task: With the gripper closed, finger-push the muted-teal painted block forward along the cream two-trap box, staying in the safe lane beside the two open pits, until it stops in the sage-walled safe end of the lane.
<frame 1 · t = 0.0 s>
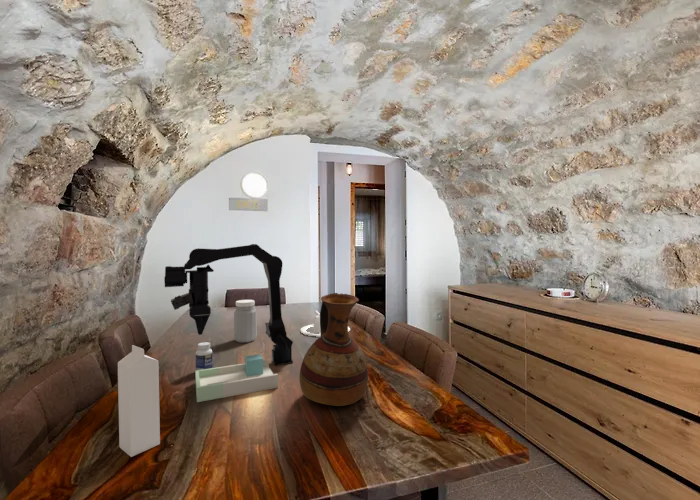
hand: (199, 331, 119), 15 cm above the table, fingers open, 9 cm apart
jar: (245, 340, 161), on the table
pill bottle: (204, 372, 122), on the table
trap box: (238, 385, 110), on the table
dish: (325, 331, 177), on the table
milk: (139, 446, 78), on the table
ceramic pitcher: (333, 397, 102), on the table
block: (253, 372, 115), point 2 cm above the table, touching trap box
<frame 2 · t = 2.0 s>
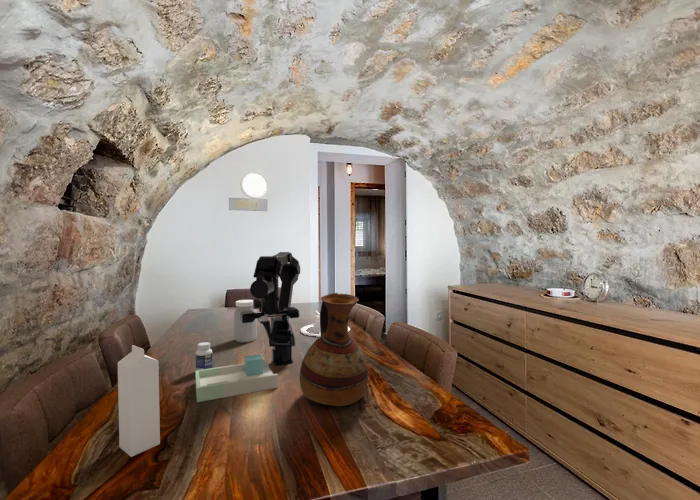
hand: (270, 340, 118), 12 cm above the table, fingers closed
nothing on the table moved.
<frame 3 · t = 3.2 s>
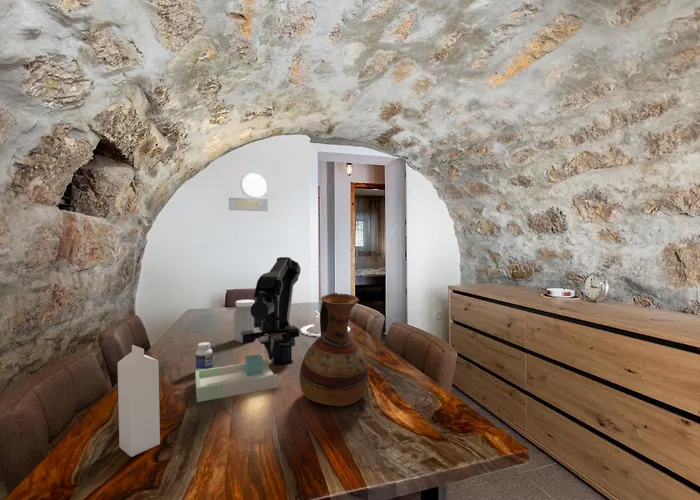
hand: (270, 359, 118), 5 cm above the table, fingers closed
nothing on the table moved.
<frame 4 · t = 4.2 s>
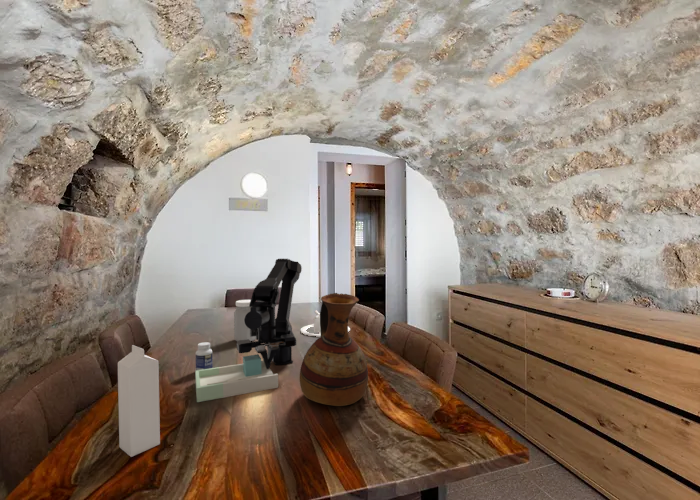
hand: (267, 368, 117), 3 cm above the table, fingers closed
block: (252, 372, 115), point 2 cm above the table, touching gripper
everything else where it was.
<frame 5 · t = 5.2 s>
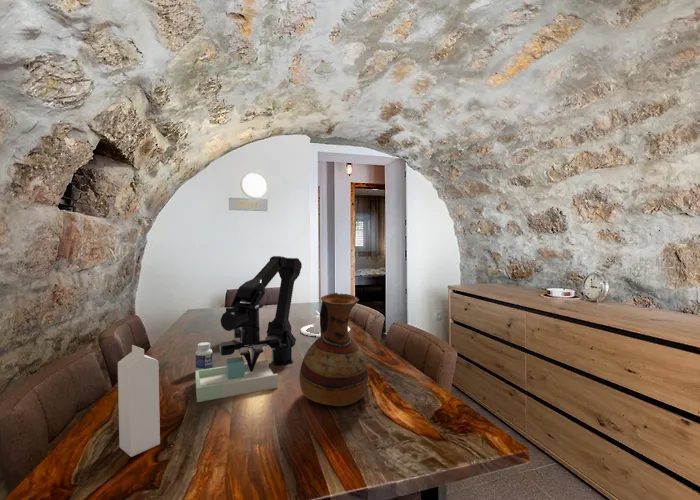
hand: (251, 371, 115), 3 cm above the table, fingers closed
block: (235, 375, 113), point 2 cm above the table, touching gripper, trap box
everything else where it was.
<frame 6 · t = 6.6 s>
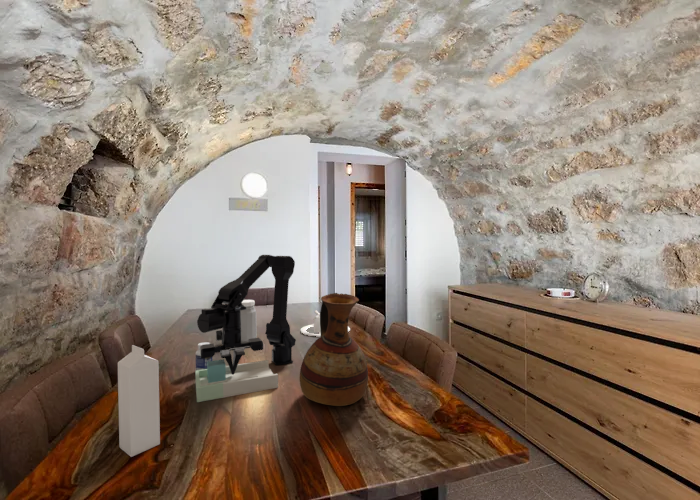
hand: (232, 374, 113), 3 cm above the table, fingers closed
block: (216, 378, 110), point 2 cm above the table, touching gripper, trap box
everything else where it was.
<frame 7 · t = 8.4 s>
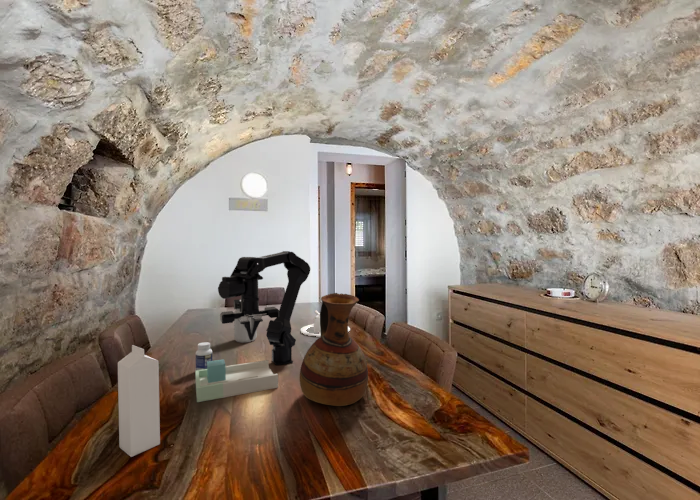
hand: (250, 339, 119), 12 cm above the table, fingers closed
block: (216, 378, 110), point 2 cm above the table, touching trap box
everything else where it was.
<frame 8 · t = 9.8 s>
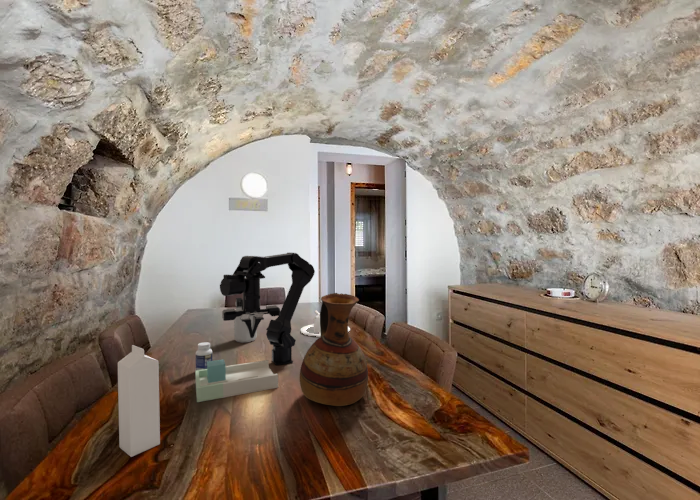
hand: (251, 337, 121), 12 cm above the table, fingers closed
nothing on the table moved.
at the end: block 1.4 cm from the target spot on the trap box, point 2.0 cm above the trap box's base; block tilted 0° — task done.
